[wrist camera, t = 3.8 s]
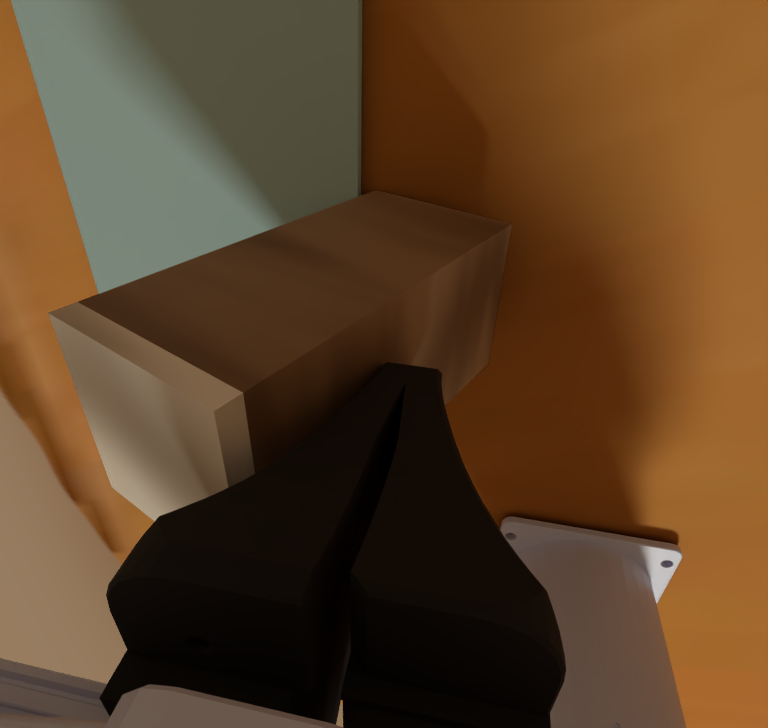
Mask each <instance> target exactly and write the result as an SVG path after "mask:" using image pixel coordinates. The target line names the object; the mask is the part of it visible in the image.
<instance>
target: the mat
mask: <svg viewBox="0 0 768 728" xmlns="http://www.w3.org/2000/svg"><path fill="white" fill-rule="evenodd" d="M11 2H12V5H13V8H14V12H15V15H16V19H17V22H18V25H19V29H20V32H21V35H22V39H23V42H24V45H25V49H26V52H27V55H28V59H29V62H30V65H31V69H32V72H33V75H34V79H35V82H36V86H37V89H38V92H39V96H40V99H41V102H42V106H43V109H44V112H45V116H46V119H47V122H48V126H49V129H50V132H51V136H52V139H53V142H54V146H55V149H56V153H57V156H58V159H59V163H60V166H61V169H62V173H63V176H64V179H65V183H66V186H67V189H68V193H69V196H70V199H71V203H72V206H73V209H74V213H75V216H76V220H77V223H78V226H79V230H80V233H81V236H82V240H83V243H84V246H85V250H86V253H87V256H88V260H89V263H90V266H91V270H92V273H93V276H94V280H95V283H96V286H97V290H98V293H99V294H100V293H103V292H105V291H108V290H111V289H113V288H116V287H119V286H121V285H124V284H127V283H129V282H132V281H135V280H137V279H140V278H143V277H145V276H148V275H151V274H153V273H156V272H159V271H161V270H164V269H167V268H169V267H172V266H175V265H177V264H180V263H183V262H185V261H188V260H191V259H193V258H196V257H199V256H201V255H204V254H207V253H209V252H212V251H215V250H217V249H220V248H223V247H225V246H228V245H231V244H233V243H236V242H239V241H241V240H244V239H247V238H249V237H252V236H254V235H257V234H260V233H262V232H265V231H268V230H270V229H273V228H276V227H278V226H281V225H284V224H286V223H289V222H292V221H294V220H297V219H300V218H302V217H305V216H308V215H310V214H313V213H316V212H318V211H321V210H324V209H326V208H329V207H332V206H334V205H337V204H340V203H342V202H345V201H348V200H350V199H353V198H356V197H358V196H361V136H362V0H11Z"/></svg>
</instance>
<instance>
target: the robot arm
mask: <svg viewBox="0 0 768 728" xmlns="http://www.w3.org/2000/svg"><path fill="white" fill-rule="evenodd" d="M510 533H513V534H510ZM682 556H683V555H682V552H681V549H680V547H679V546H677V545H675V544H672V543H666V542H660V541H654V540H648V539H642V538H636V537H630V536H625V535H619V534H613V533H607V532H601V531H595V530H589V529H583V528H578V527H572V526H566V525H560V524H554V523H548V522H542V521H537V520H531V519H525V518H519V517H506V518H505V519H503V521H502V523H501V527H500V529H499V527H498V526H497V524H496V523H495V521H494V520H493V518H492V516H491V515H490V513H489V512H488V510H487V509H486V507H485V505H484V504H483V502H482V500H481V498H480V496H479V494H478V492H477V491H476V489H475V487H474V485H473V483H472V481H471V479H470V477H469V475H468V472H467V470H466V468H465V466H464V463H463V461H462V459H461V456H460V454H459V451H458V448H457V446H456V443H455V440H454V437H453V434H452V431H451V428H450V424H449V420H448V417H447V413H446V409H445V405H444V399H443V393H442V373H441V372H440V371H439V369H434V368H427V367H420V366H413V365H405V364H398V363H391V362H386V363H385V364H383V365H382V366H381V367H380V369H379V370H378V371H377V372H376V374H375V375H374V376H373V377H372V378H371V379H370V381H369V382H368V383H367V384H366V385H365V386H364V387H363V388H362V389H361V391H360V392H359V393H358V394H357V395H356V396H355V397H354V398H353V399H352V400H351V401H350V402H349V403H348V404H347V405H346V406H345V407H344V408H343V409H342V410H341V411H340V412H339V413H337V414H336V415H335V416H334V417H333V418H332V419H331V420H330V421H328V422H327V423H326V424H325V425H324V426H323V427H322V428H320V429H319V430H318V431H317V432H316V433H314V434H313V435H312V436H311V437H309V438H308V439H307V440H306V441H304V442H303V443H302V444H300V445H299V446H297V447H296V448H295V449H293V450H292V451H290V452H289V453H288V454H286V455H285V456H283V457H281V458H280V459H278V460H277V461H275V462H274V463H272V464H271V465H269V466H267V467H266V468H264V469H262V470H261V471H259V472H257V473H256V474H254V475H252V476H250V477H248V478H246V479H244V480H243V481H241V482H239V483H237V484H235V485H233V486H231V487H229V488H226V489H224V490H222V491H220V492H218V493H216V494H214V495H211V496H209V497H207V498H205V499H202V500H200V501H197V502H195V503H192V504H189V505H187V506H184V507H182V508H179V509H177V510H174V511H172V512H169V513H166V514H164V515H161V516H159V517H158V518H157V519H156V521H155V522H154V523H153V524H152V525H151V527H150V528H149V529H148V530H147V531H146V532H145V534H144V535H143V536H142V537H141V539H140V540H139V541H138V543H137V544H136V545H135V547H134V548H133V550H132V551H131V553H130V554H129V556H128V557H127V558H126V560H125V561H124V563H123V564H122V566H121V567H120V569H119V570H118V572H117V573H116V575H115V576H114V578H113V579H112V581H111V582H110V583H109V586H108V590H107V594H106V596H107V600H108V604H109V608H110V612H111V614H112V616H113V619H114V620H115V623H116V625H117V627H118V630H119V632H120V634H121V636H122V638H123V641H124V643H125V645H126V647H127V649H128V650H127V651H126V653H125V655H124V657H123V658H122V660H121V662H120V663H119V665H118V667H117V668H116V670H115V672H114V673H113V675H112V677H111V679H110V680H109V682H108V684H105V683H101V682H96V681H93V680H88V679H84V678H80V677H75V676H71V675H67V674H63V673H59V672H54V671H51V670H46V669H42V668H38V667H34V666H30V665H26V664H22V663H17V662H13V661H9V660H5V659H1V658H0V728H686V724H685V720H684V716H683V712H682V708H681V704H680V700H679V695H678V691H677V687H676V683H675V679H674V675H673V670H672V666H671V662H670V658H669V654H668V650H667V646H666V641H665V637H664V633H663V629H662V625H661V621H660V617H659V612H658V608H657V603H658V601H659V599H660V597H661V595H662V594H663V592H664V590H665V588H666V586H667V585H668V583H669V581H670V579H671V577H672V575H673V574H674V572H675V570H676V568H677V566H678V565H679V563H680V561H681V559H682ZM341 700H343V727H340V726H337V725H336V721H337V716H338V711H339V706H340V701H341Z"/></svg>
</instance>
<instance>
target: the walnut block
mask: <svg viewBox="0 0 768 728" xmlns="http://www.w3.org/2000/svg"><path fill="white" fill-rule="evenodd" d="M511 228H512V224H511V223H507V222H503V221H499V220H495V219H491V218H487V217H483V216H479V215H475V214H471V213H467V212H463V211H459V210H455V209H451V208H447V207H443V206H439V205H435V204H431V203H427V202H423V201H419V200H415V199H411V198H407V197H403V196H399V195H395V194H391V193H386V192H382V191H378V190H374V191H372V192H369V193H366V194H364V195H361V196H358V197H356V198H353V199H350V200H348V201H345V202H342V203H340V204H337V205H334V206H332V207H329V208H326V209H324V210H321V211H318V212H316V213H313V214H310V215H308V216H305V217H302V218H300V219H297V220H294V221H292V222H289V223H286V224H284V225H281V226H278V227H276V228H273V229H270V230H268V231H265V232H262V233H260V234H257V235H254V236H252V237H249V238H247V239H244V240H241V241H239V242H236V243H233V244H231V245H228V246H225V247H223V248H220V249H217V250H215V251H212V252H209V253H207V254H204V255H201V256H199V257H196V258H193V259H191V260H188V261H185V262H183V263H180V264H177V265H175V266H172V267H169V268H167V269H164V270H161V271H159V272H156V273H153V274H151V275H148V276H145V277H143V278H140V279H137V280H135V281H132V282H129V283H127V284H124V285H121V286H119V287H116V288H113V289H111V290H108V291H105V292H103V293H100V294H97V295H95V296H92V297H89V298H87V299H84V300H81V301H79V302H76V303H73V304H71V305H68V306H65V307H63V308H60V309H57V310H55V311H52V312H49V313H48V314H49V317H50V319H51V322H52V325H53V328H54V330H55V333H56V336H57V339H58V341H59V344H60V347H61V349H62V352H63V355H64V358H65V360H66V363H67V366H68V369H69V371H70V374H71V377H72V380H73V382H74V385H75V388H76V390H77V393H78V396H79V399H80V401H81V404H82V407H83V410H84V412H85V415H86V418H87V421H88V423H89V426H90V429H91V432H92V434H93V437H94V440H95V442H96V445H97V448H98V451H99V453H100V456H101V459H102V462H103V464H104V467H105V470H106V473H107V475H108V478H109V481H110V483H111V486H112V488H114V489H115V490H116V491H117V492H119V493H120V494H121V495H122V496H124V497H125V498H126V499H127V500H129V501H130V502H131V503H132V504H134V505H135V506H136V507H137V508H139V509H140V510H141V511H142V512H144V513H145V514H146V515H147V516H149V517H150V518H151V519H152V520H154V521H156V519H157V518H158V517H159V516H161V515H164V514H166V513H169V512H172V511H174V510H177V509H179V508H182V507H184V506H187V505H189V504H192V503H195V502H197V501H200V500H202V499H205V498H207V497H209V496H211V495H214V494H216V493H218V492H220V491H222V490H224V489H226V488H229V487H231V486H233V485H235V484H237V483H239V482H241V481H243V480H244V479H246V478H248V477H250V476H252V475H254V474H256V473H257V472H259V471H261V470H262V469H264V468H266V467H267V466H269V465H271V464H272V463H274V462H275V461H277V460H278V459H280V458H281V457H283V456H285V455H286V454H288V453H289V452H290V451H292V450H293V449H295V448H296V447H297V446H299V445H300V444H302V443H303V442H304V441H306V440H307V439H308V438H309V437H311V436H312V435H313V434H314V433H316V432H317V431H318V430H319V429H320V428H322V427H323V426H324V425H325V424H326V423H327V422H328V421H330V420H331V419H332V418H333V417H334V416H335V415H336V414H337V413H339V412H340V411H341V410H342V409H343V408H344V407H345V406H346V405H347V404H348V403H349V402H350V401H351V400H352V399H353V398H354V397H355V396H356V395H357V394H358V393H359V392H360V391H361V389H362V388H363V387H364V386H365V385H366V384H367V383H368V382H369V381H370V379H371V378H372V377H373V376H374V375H375V374H376V372H377V371H378V370H379V369H380V367H381V366H382V365H383V364H385V363H386V362H391V363H398V364H405V365H413V366H420V367H427V368H434V369H439V371H440V372H441V373H442V393H443V399H444V405H445V406H446V405H447V404H448V403H449V402H450V401H451V400H452V399H453V398H454V397H455V396H456V395H457V394H458V393H459V392H460V391H461V390H462V389H463V388H464V387H465V386H466V385H467V384H468V383H469V382H470V381H471V380H472V379H473V378H474V377H475V376H476V375H477V374H478V373H479V372H480V371H481V370H482V369H483V368H485V367H486V366H487V365H488V363H489V357H490V351H491V346H492V340H493V334H494V328H495V322H496V316H497V310H498V304H499V298H500V293H501V287H502V281H503V275H504V269H505V263H506V257H507V251H508V245H509V239H510V234H511Z"/></svg>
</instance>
